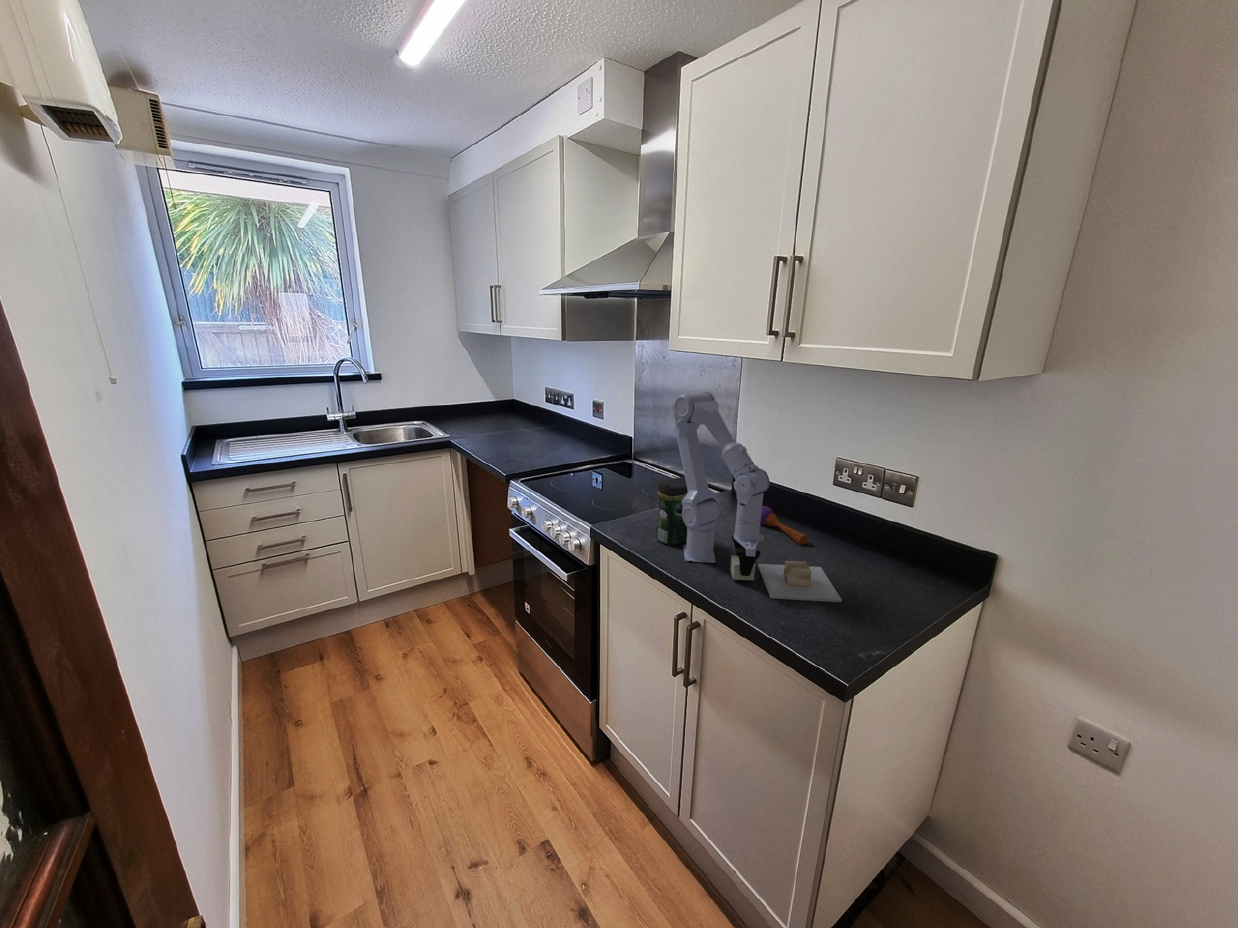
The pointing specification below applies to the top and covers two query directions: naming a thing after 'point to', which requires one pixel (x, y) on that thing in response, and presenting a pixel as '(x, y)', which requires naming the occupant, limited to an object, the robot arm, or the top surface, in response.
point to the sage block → (736, 570)
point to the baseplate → (781, 590)
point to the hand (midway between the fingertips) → (743, 569)
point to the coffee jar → (671, 511)
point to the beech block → (797, 573)
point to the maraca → (781, 525)
